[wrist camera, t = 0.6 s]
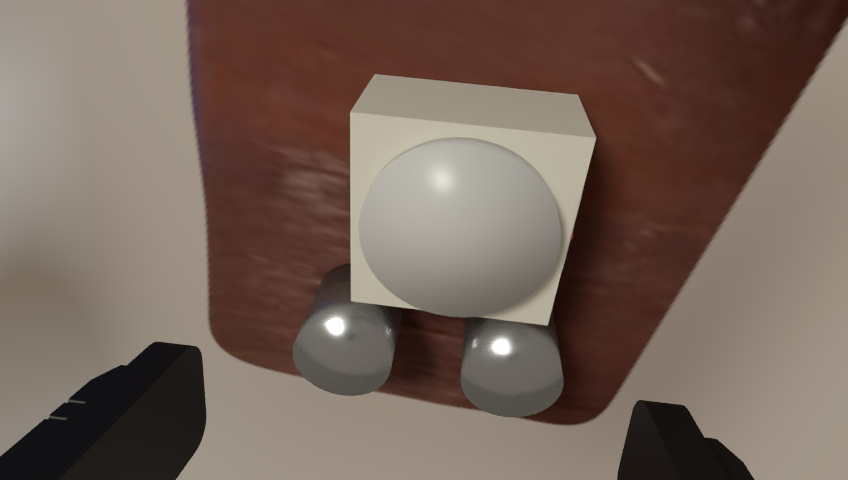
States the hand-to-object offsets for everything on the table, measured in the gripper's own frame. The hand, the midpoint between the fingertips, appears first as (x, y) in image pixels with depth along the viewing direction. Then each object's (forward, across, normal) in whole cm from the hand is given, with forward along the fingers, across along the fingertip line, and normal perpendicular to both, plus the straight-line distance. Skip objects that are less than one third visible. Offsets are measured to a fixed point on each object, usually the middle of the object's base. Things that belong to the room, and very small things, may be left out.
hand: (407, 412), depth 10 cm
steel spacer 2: (+20, -4, +8) cm, 22 cm away
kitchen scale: (+18, 0, -1) cm, 18 cm away
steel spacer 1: (+20, +5, +8) cm, 22 cm away
